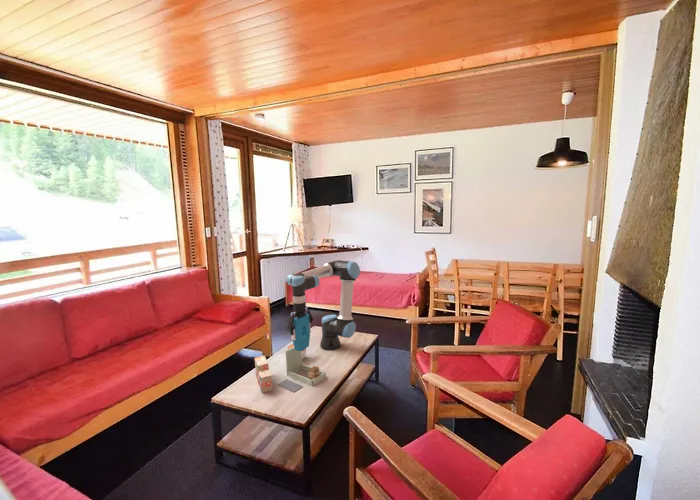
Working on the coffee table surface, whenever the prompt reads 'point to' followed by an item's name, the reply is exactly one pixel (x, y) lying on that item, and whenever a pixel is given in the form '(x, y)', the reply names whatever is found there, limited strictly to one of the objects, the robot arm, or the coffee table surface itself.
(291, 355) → the frame
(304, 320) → the block
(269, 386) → the stack of blocks
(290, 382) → the felt mat
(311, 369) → the offcut stack
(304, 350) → the lidded bowl
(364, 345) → the coffee table surface
